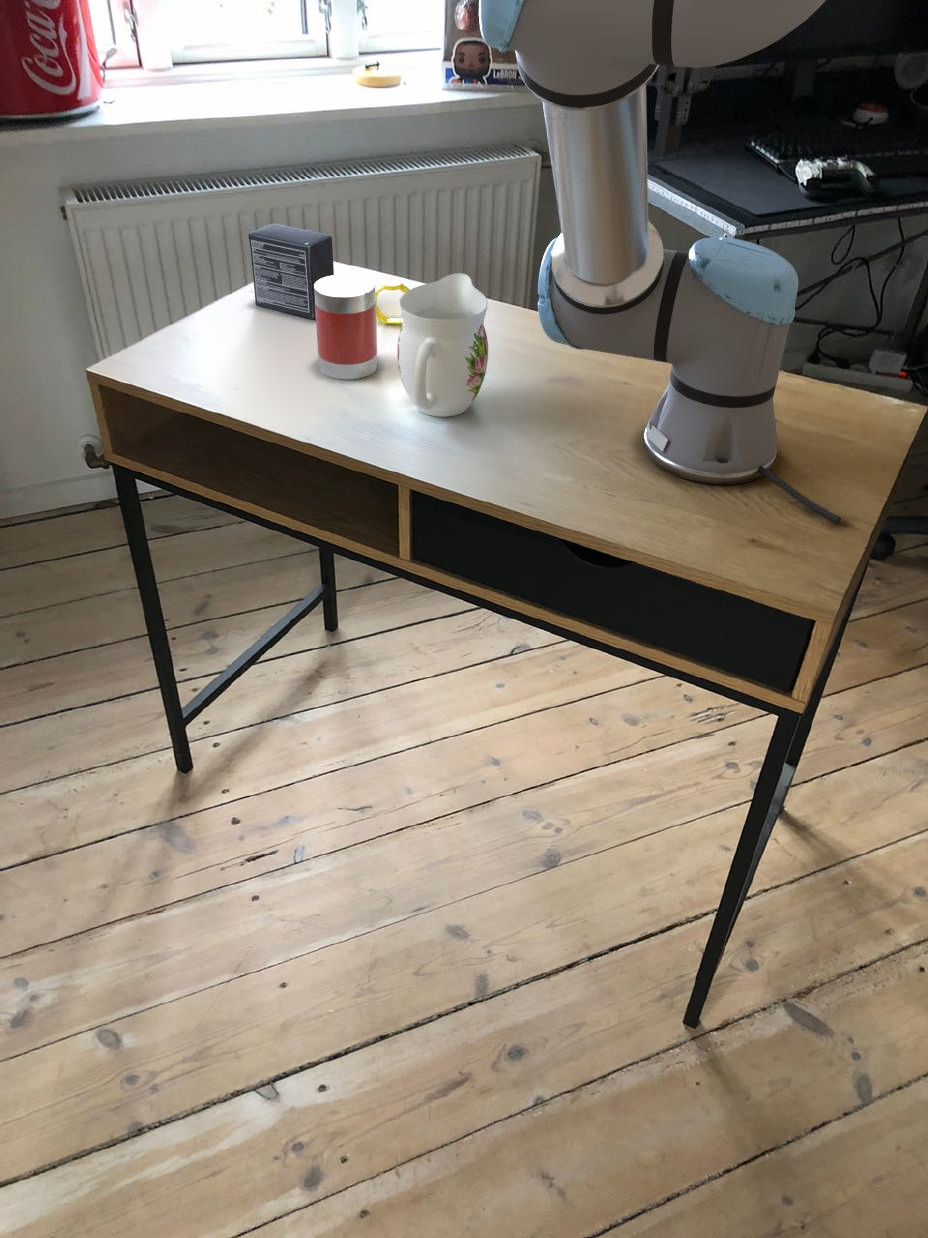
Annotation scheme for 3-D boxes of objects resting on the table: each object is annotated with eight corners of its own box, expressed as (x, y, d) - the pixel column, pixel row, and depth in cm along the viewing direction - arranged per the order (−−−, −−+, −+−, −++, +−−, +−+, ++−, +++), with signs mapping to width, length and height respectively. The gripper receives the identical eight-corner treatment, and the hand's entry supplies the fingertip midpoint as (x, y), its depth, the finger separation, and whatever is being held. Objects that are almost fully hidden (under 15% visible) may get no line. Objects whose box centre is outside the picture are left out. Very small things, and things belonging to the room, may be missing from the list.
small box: (338, 305, 151) (335, 233, 145) (313, 320, 147) (308, 247, 140) (279, 291, 155) (273, 220, 148) (253, 305, 150) (246, 233, 144)
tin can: (389, 368, 135) (387, 286, 128) (343, 385, 131) (339, 302, 124) (352, 349, 140) (349, 269, 133) (307, 365, 135) (301, 283, 129)
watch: (416, 320, 148) (416, 280, 144) (413, 328, 146) (412, 287, 142) (376, 317, 148) (375, 276, 145) (371, 324, 146) (370, 283, 142)
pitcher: (374, 435, 121) (370, 324, 113) (418, 370, 135) (418, 267, 126) (463, 449, 119) (467, 337, 111) (499, 382, 133) (505, 278, 124)
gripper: (771, -80, 107) (729, 158, 122) (672, -91, 114) (643, 135, 129) (730, -77, 103) (691, 170, 118) (629, -89, 110) (604, 145, 125)
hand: (666, 151), depth 124 cm, fingers closed
